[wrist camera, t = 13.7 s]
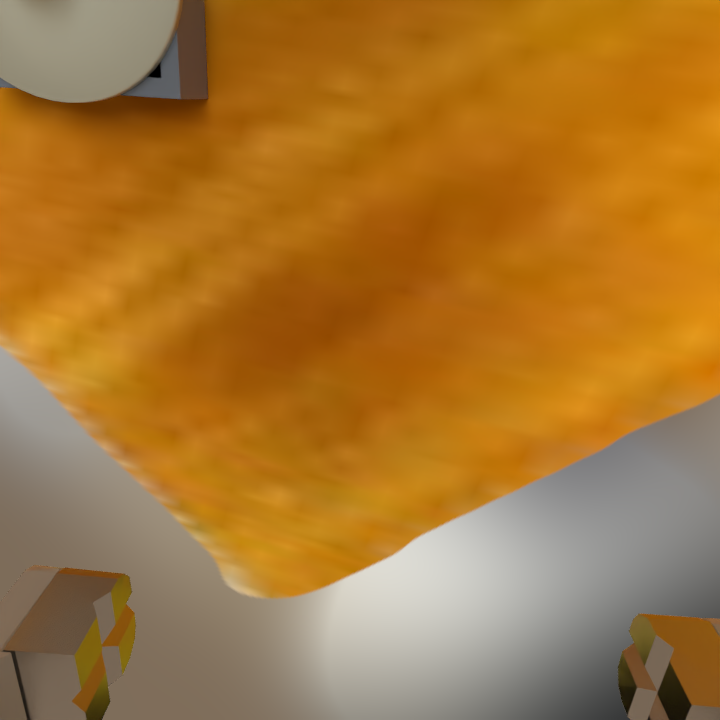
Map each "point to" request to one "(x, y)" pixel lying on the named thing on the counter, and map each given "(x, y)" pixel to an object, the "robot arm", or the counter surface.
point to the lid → (84, 45)
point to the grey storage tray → (177, 61)
